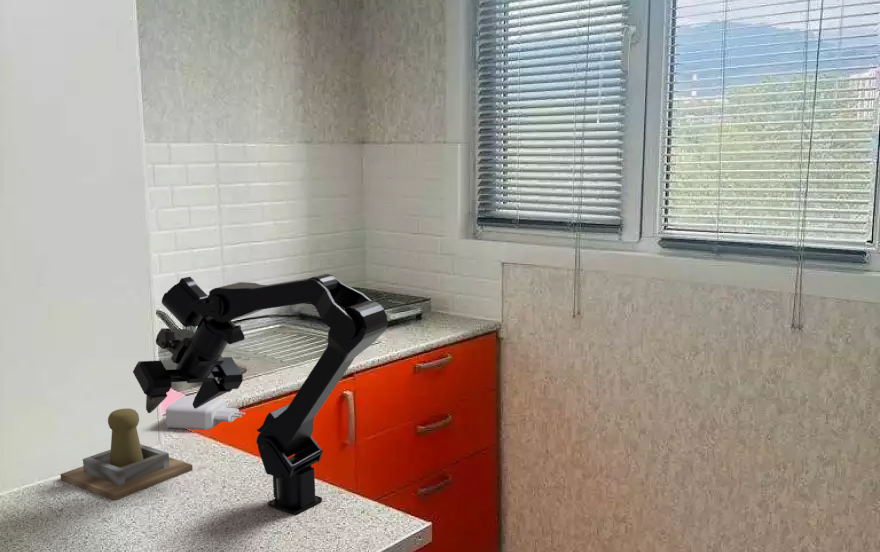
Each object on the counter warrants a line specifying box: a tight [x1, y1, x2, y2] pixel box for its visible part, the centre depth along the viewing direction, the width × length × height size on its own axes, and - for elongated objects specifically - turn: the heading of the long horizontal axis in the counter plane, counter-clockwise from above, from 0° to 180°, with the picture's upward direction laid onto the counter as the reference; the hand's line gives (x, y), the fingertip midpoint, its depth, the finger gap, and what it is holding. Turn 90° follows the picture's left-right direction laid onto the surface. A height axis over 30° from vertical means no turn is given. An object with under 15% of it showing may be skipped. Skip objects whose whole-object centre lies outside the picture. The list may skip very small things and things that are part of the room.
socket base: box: [60, 443, 193, 501], centre depth 157 cm, size 16×16×4 cm
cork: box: [107, 408, 143, 468], centre depth 156 cm, size 6×6×11 cm
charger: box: [165, 395, 246, 431], centre depth 184 cm, size 5×9×15 cm
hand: (171, 408), depth 154 cm, fingers open, 9 cm apart
